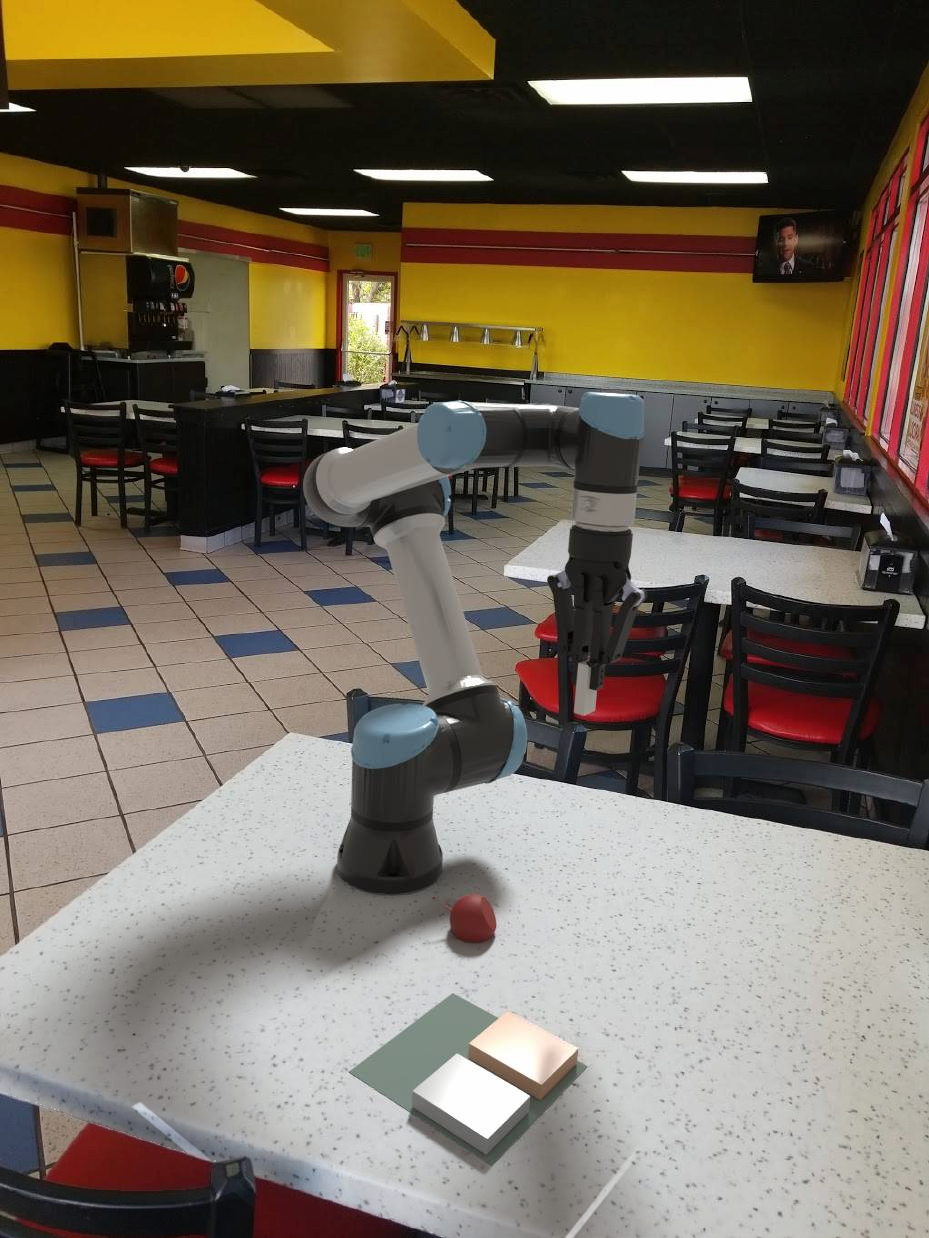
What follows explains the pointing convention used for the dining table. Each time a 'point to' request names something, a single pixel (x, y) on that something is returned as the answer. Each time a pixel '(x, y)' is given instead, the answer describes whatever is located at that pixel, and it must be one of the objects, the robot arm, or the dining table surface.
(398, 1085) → the mat
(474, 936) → the fruit
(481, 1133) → the white flat block
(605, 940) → the dining table surface
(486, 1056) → the terracotta tile
